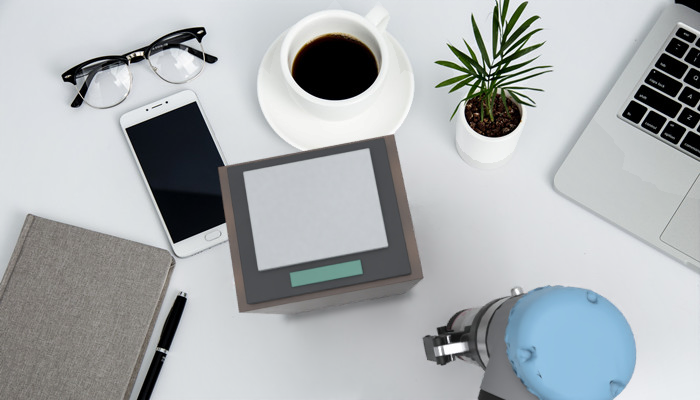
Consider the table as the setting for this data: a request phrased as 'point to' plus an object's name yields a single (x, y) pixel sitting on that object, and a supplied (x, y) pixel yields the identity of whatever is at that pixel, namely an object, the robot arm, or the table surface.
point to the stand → (338, 294)
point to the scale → (317, 221)
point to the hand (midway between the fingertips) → (475, 335)
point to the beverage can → (463, 325)
